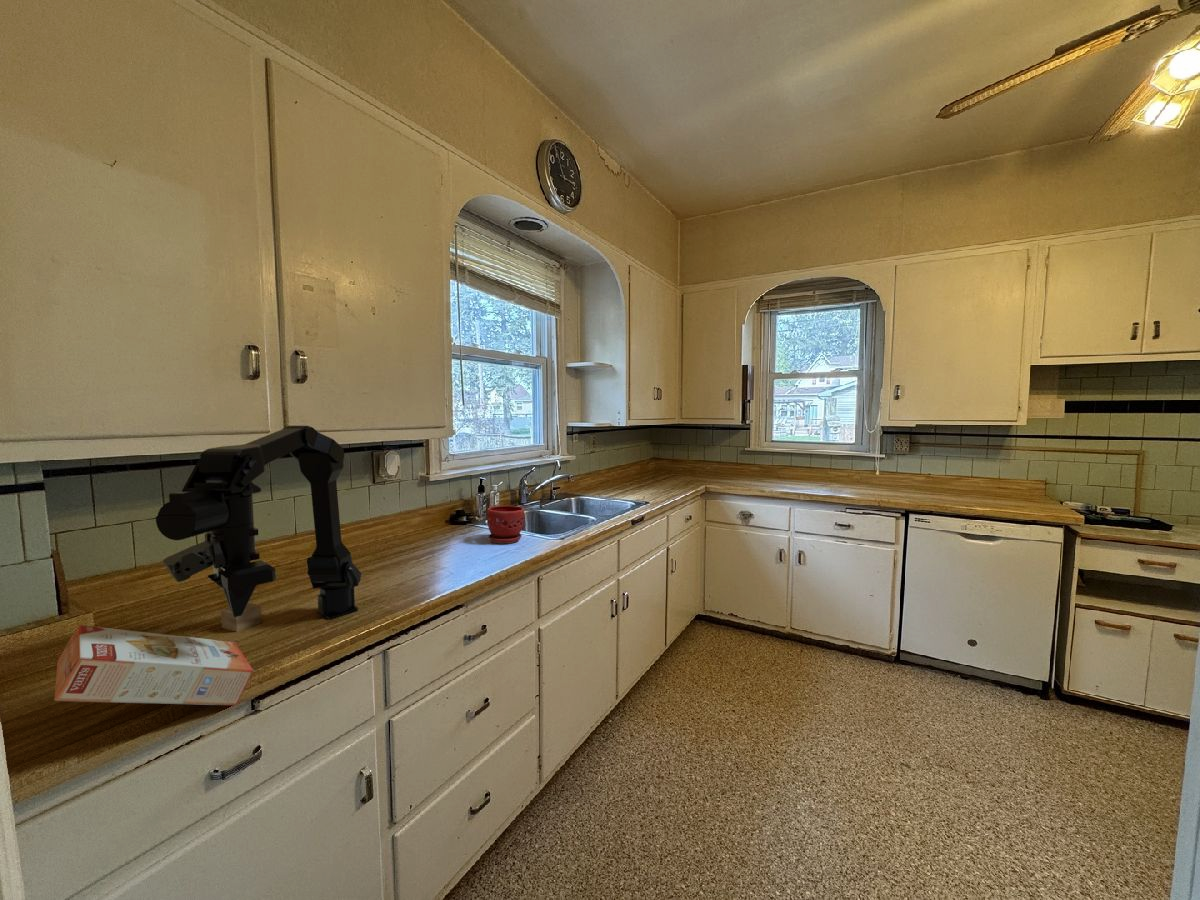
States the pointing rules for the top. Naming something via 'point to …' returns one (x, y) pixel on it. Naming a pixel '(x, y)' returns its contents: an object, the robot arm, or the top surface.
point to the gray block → (241, 618)
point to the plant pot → (505, 523)
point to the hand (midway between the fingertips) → (237, 615)
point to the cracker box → (149, 668)
